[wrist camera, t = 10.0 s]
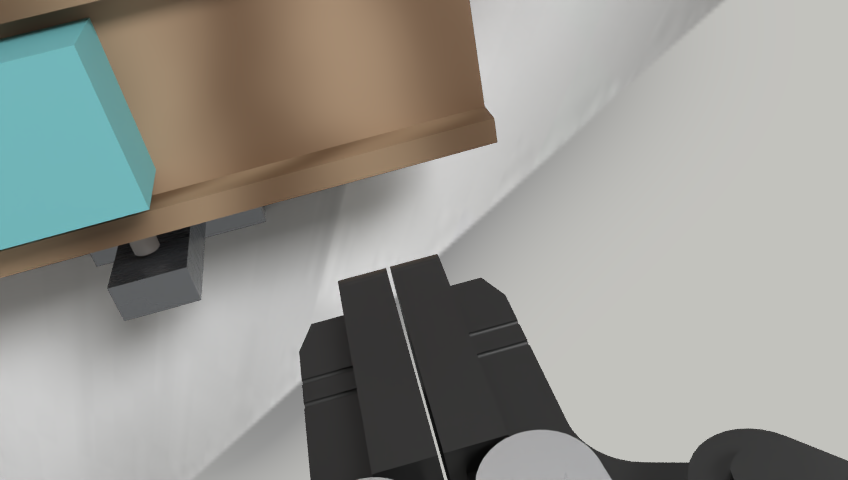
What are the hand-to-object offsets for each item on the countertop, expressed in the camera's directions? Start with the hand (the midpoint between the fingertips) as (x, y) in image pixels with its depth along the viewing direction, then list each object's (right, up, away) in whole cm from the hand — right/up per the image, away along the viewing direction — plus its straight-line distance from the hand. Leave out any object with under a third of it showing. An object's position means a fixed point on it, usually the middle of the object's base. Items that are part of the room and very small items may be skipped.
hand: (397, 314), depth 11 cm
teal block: (-13, +5, +14) cm, 20 cm away
